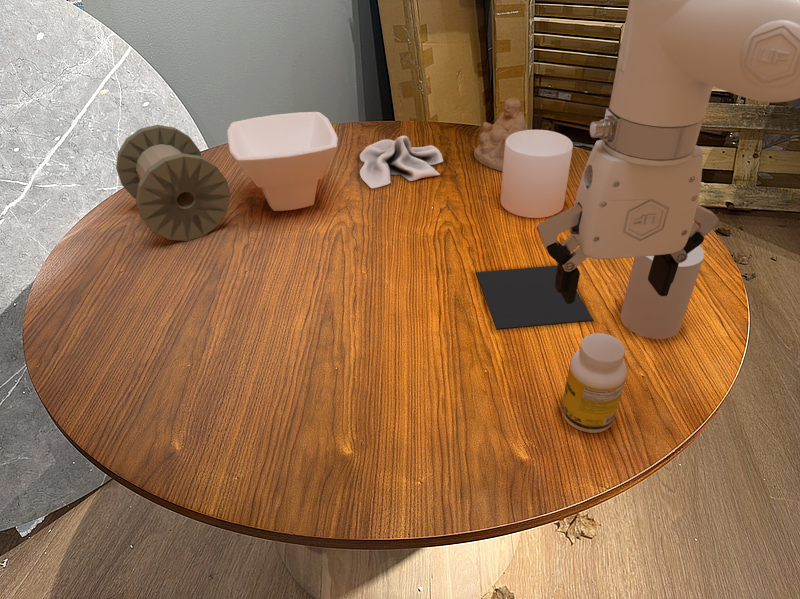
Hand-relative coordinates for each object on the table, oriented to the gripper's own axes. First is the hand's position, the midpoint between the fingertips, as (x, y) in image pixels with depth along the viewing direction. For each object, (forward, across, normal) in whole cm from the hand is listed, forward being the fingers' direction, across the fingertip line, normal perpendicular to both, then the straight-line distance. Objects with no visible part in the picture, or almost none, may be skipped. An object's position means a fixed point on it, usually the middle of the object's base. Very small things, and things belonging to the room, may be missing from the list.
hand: (611, 291), depth 63 cm
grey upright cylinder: (+18, +16, +16) cm, 29 cm away
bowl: (+19, -36, +59) cm, 72 cm away
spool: (+19, -56, +56) cm, 82 cm away
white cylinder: (+19, +8, +52) cm, 56 cm away
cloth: (+19, -14, +72) cm, 76 cm away
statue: (+19, +8, +72) cm, 74 cm away
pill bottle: (+18, 0, 0) cm, 19 cm away
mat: (+18, 0, +24) cm, 30 cm away
